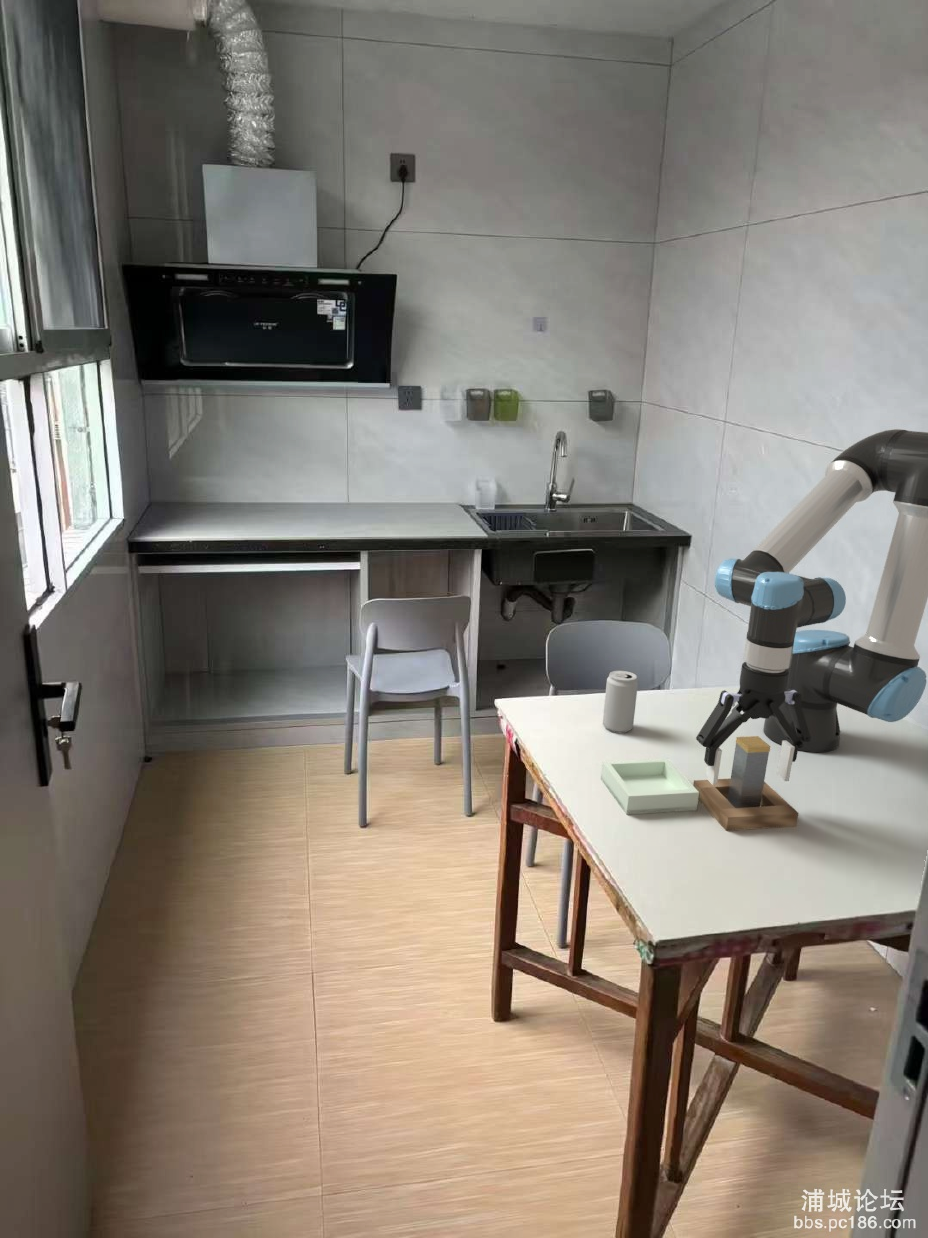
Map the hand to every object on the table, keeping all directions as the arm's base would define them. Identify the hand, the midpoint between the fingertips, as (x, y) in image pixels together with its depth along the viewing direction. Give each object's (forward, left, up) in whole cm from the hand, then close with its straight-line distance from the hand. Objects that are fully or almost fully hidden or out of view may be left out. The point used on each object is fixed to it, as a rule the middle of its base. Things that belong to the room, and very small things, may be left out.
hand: (747, 779), depth 151 cm
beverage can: (+10, -35, -6) cm, 37 cm away
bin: (+15, -7, -6) cm, 18 cm away
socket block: (0, 0, -6) cm, 6 cm away
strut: (0, 0, -6) cm, 6 cm away
